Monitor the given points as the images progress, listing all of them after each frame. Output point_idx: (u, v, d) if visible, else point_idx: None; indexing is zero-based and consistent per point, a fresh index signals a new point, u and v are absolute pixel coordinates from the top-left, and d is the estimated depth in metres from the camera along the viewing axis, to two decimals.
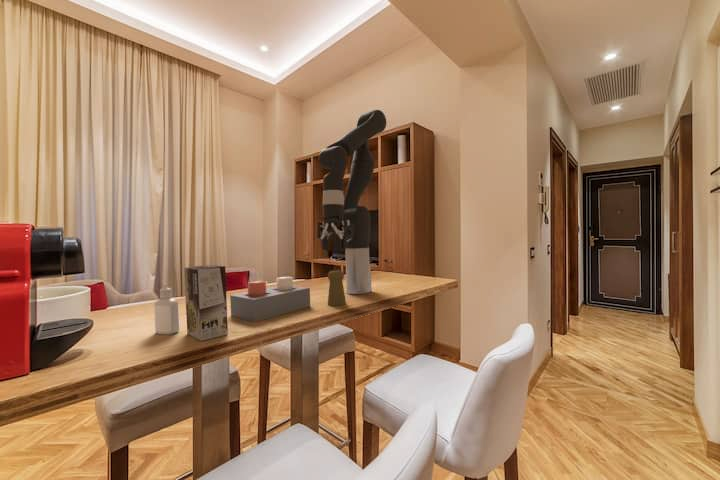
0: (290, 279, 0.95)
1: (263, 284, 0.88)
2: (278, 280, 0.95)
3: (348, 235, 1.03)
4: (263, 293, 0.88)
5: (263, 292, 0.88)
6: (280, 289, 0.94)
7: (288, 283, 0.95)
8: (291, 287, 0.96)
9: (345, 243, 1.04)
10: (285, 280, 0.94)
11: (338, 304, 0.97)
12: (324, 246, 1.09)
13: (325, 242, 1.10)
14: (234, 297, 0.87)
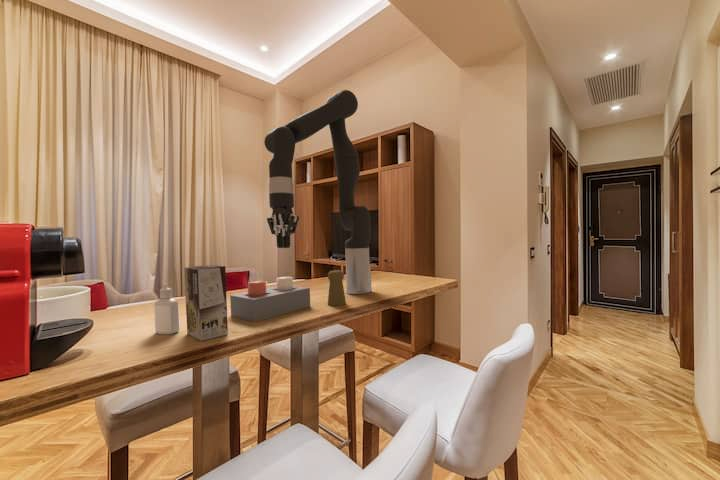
0: (290, 279, 0.95)
1: (263, 284, 0.88)
2: (278, 280, 0.95)
3: (290, 231, 0.94)
4: (263, 293, 0.88)
5: (263, 292, 0.88)
6: (280, 289, 0.94)
7: (288, 283, 0.95)
8: (291, 287, 0.96)
9: (288, 240, 0.95)
10: (285, 280, 0.94)
11: (338, 304, 0.97)
12: (279, 243, 0.97)
13: (280, 239, 0.97)
14: (234, 297, 0.87)
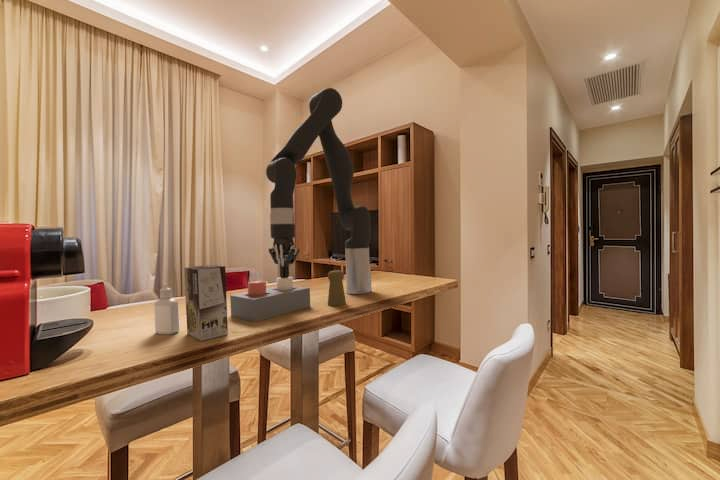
0: (290, 279, 0.95)
1: (263, 284, 0.88)
2: (278, 280, 0.95)
3: (289, 262, 0.94)
4: (263, 293, 0.88)
5: (263, 292, 0.88)
6: (280, 289, 0.94)
7: (288, 283, 0.95)
8: (291, 287, 0.96)
9: (287, 270, 0.96)
10: (285, 280, 0.94)
11: (338, 304, 0.97)
12: None
13: None
14: (234, 297, 0.87)
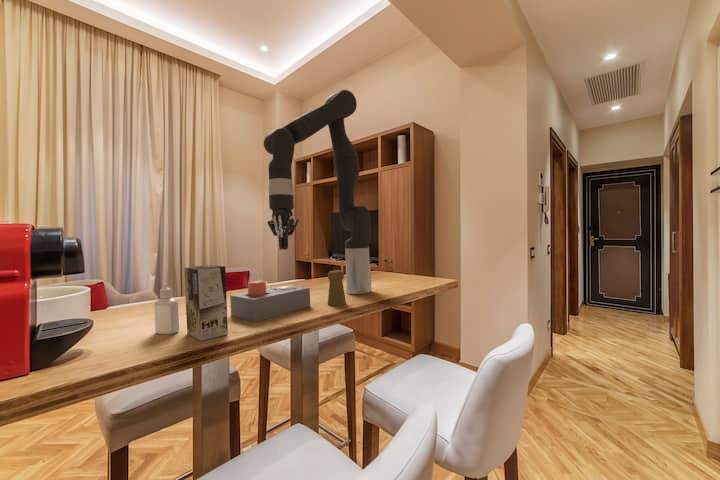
0: (290, 289, 0.95)
1: (263, 284, 0.88)
2: None
3: (288, 233, 0.94)
4: (263, 293, 0.88)
5: (263, 292, 0.88)
6: None
7: None
8: None
9: (286, 242, 0.96)
10: (285, 290, 0.94)
11: (338, 304, 0.97)
12: None
13: None
14: (234, 297, 0.87)
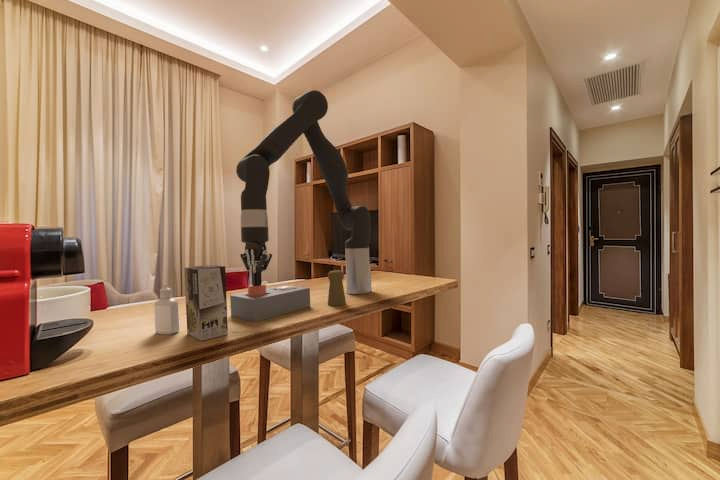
0: (290, 289, 0.95)
1: (263, 287, 0.88)
2: None
3: (261, 268, 0.86)
4: None
5: None
6: None
7: None
8: None
9: (259, 277, 0.88)
10: (285, 290, 0.94)
11: (338, 304, 0.97)
12: None
13: None
14: (234, 297, 0.87)
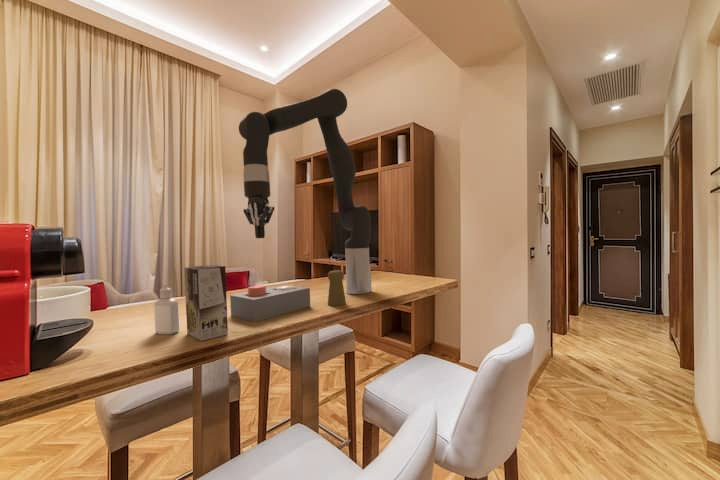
0: (290, 289, 0.95)
1: (263, 289, 0.88)
2: None
3: (264, 221, 0.91)
4: None
5: None
6: None
7: None
8: None
9: (262, 230, 0.93)
10: (285, 290, 0.94)
11: (338, 304, 0.97)
12: None
13: None
14: (234, 297, 0.87)
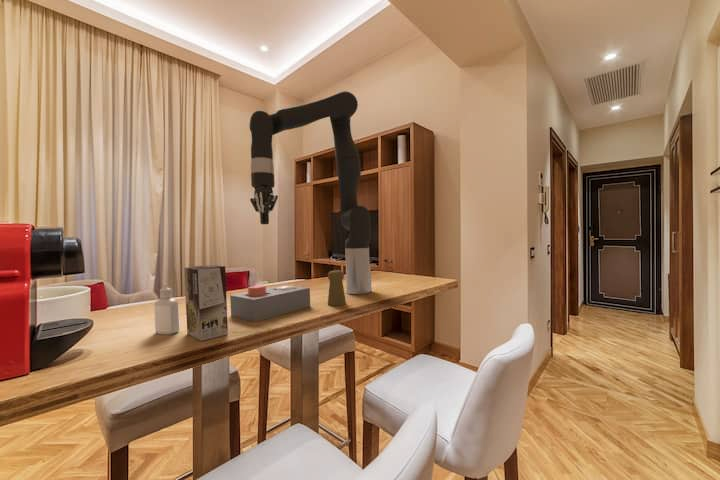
0: (290, 289, 0.95)
1: (263, 289, 0.88)
2: None
3: (268, 208, 1.02)
4: None
5: None
6: None
7: None
8: None
9: (267, 217, 1.03)
10: (285, 290, 0.94)
11: (338, 304, 0.97)
12: None
13: None
14: (234, 297, 0.87)
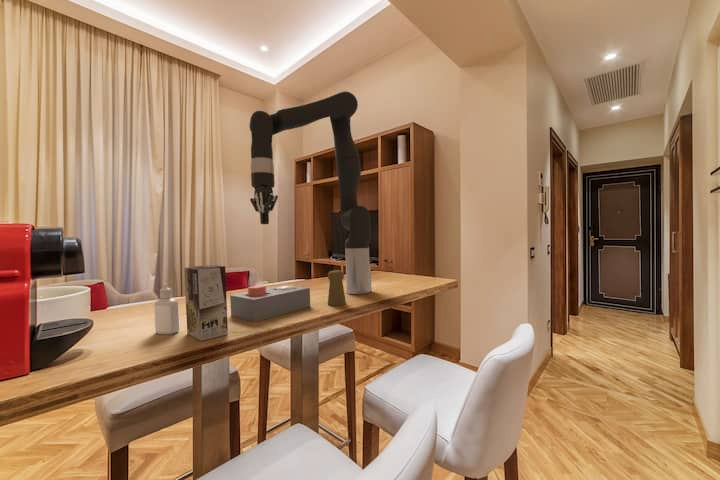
0: (290, 289, 0.95)
1: (263, 289, 0.88)
2: None
3: (268, 208, 1.02)
4: None
5: None
6: None
7: None
8: None
9: (267, 217, 1.03)
10: (285, 290, 0.94)
11: (338, 304, 0.97)
12: None
13: None
14: (234, 297, 0.87)
